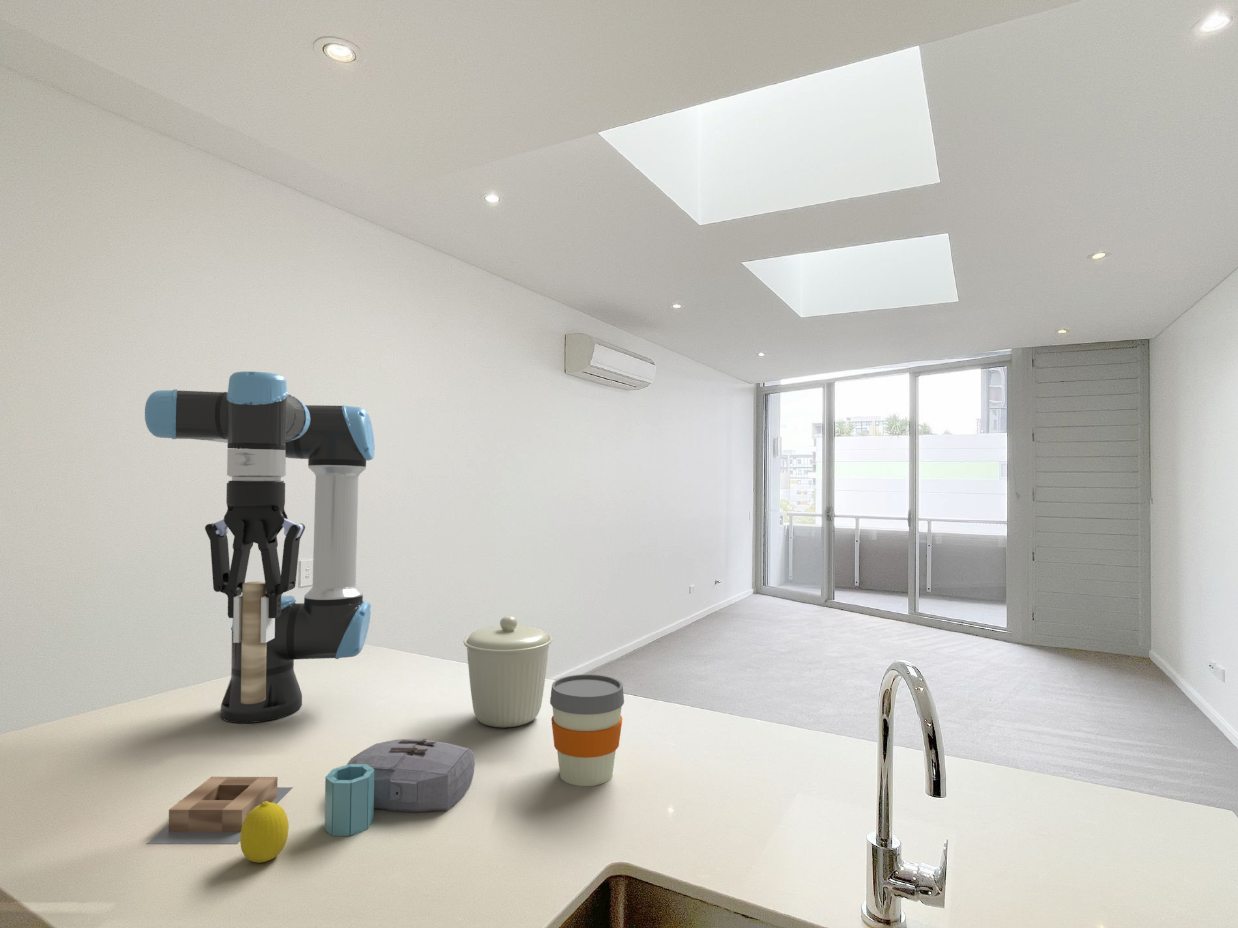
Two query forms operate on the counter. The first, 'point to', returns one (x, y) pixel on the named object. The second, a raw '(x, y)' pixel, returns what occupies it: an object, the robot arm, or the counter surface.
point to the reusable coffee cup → (586, 726)
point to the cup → (349, 799)
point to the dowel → (252, 645)
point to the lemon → (264, 832)
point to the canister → (507, 672)
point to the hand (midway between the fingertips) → (254, 639)
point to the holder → (221, 804)
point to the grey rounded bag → (418, 774)
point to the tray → (206, 837)
